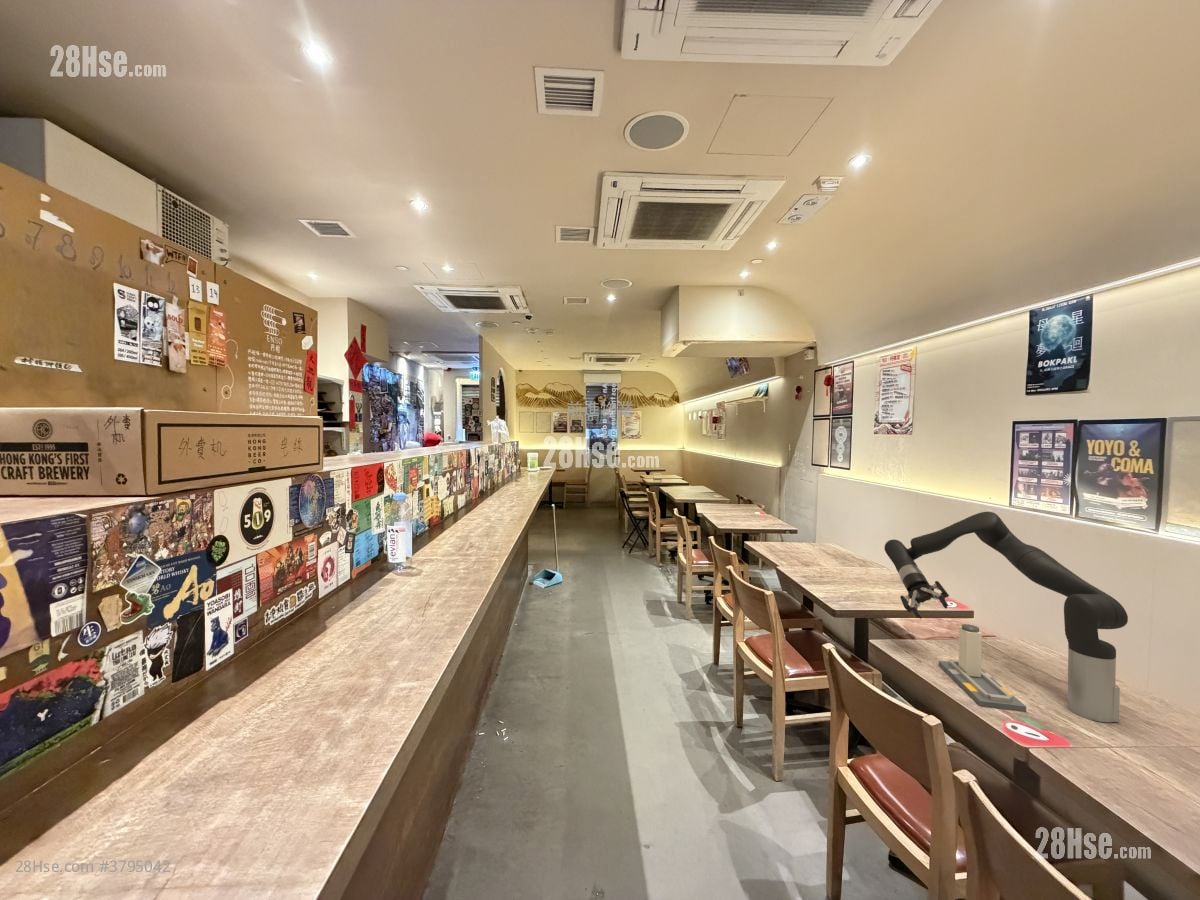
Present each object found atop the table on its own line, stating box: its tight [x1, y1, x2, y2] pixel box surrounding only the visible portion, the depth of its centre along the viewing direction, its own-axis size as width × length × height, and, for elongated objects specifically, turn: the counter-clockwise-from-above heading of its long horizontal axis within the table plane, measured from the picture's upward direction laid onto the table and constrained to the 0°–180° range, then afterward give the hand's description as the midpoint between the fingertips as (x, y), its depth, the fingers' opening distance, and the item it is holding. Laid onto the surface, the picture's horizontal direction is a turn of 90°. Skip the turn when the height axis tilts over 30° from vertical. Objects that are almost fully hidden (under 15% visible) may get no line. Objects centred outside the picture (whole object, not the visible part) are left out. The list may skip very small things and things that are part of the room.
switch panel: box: [938, 659, 1027, 713], centre depth 145 cm, size 26×11×3 cm, turn 166°
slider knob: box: [958, 623, 983, 677], centre depth 150 cm, size 5×4×15 cm
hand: (932, 612), depth 161 cm, fingers open, 8 cm apart
